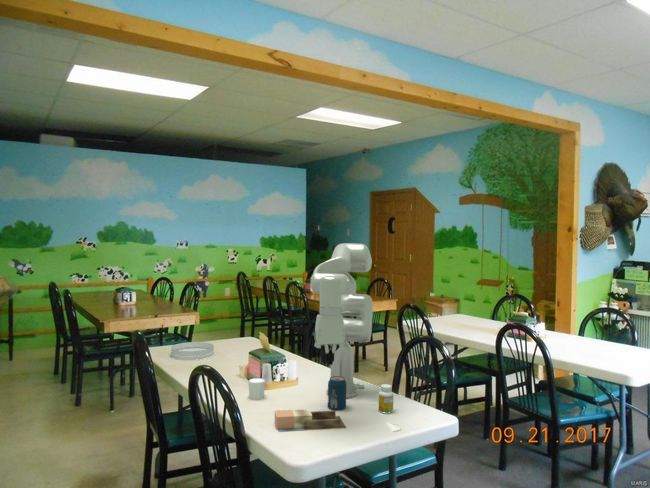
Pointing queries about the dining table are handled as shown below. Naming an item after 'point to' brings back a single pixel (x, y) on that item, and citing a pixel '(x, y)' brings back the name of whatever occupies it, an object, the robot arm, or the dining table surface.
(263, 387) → the shot glass
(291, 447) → the dining table surface
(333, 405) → the soda can
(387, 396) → the supplement bottle
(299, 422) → the beech block
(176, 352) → the dish
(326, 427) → the chute
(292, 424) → the terracotta block
